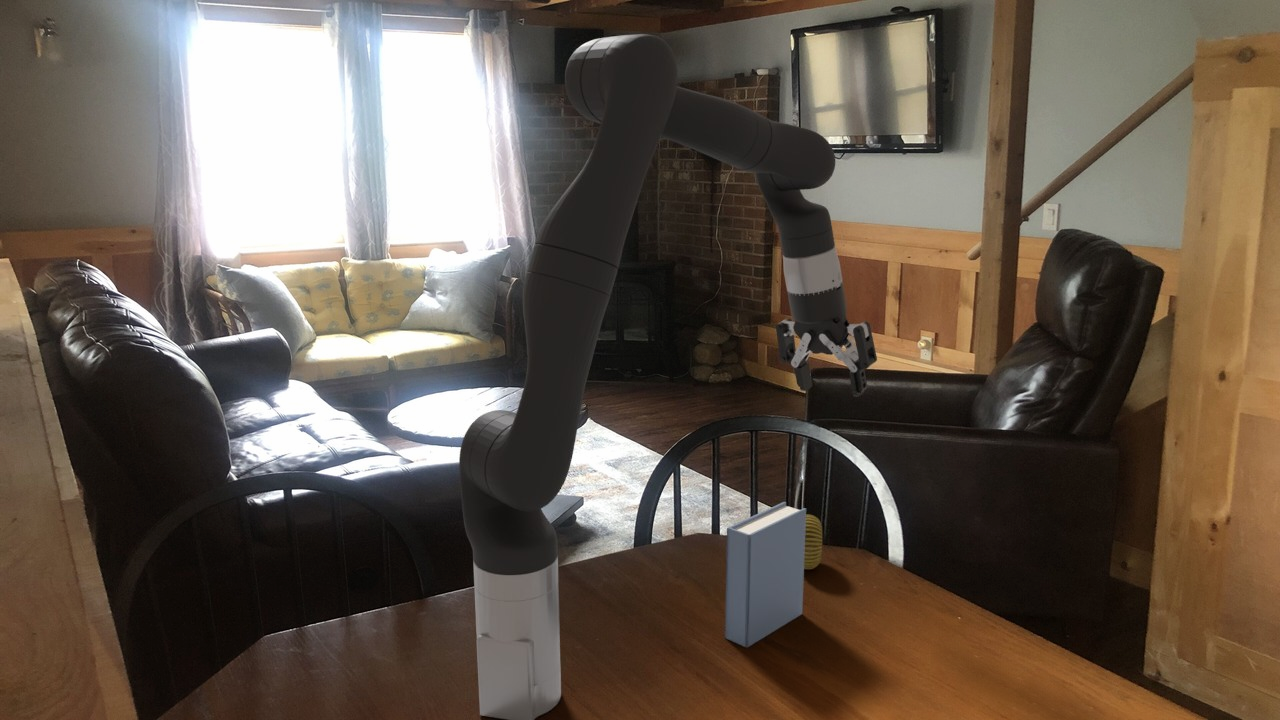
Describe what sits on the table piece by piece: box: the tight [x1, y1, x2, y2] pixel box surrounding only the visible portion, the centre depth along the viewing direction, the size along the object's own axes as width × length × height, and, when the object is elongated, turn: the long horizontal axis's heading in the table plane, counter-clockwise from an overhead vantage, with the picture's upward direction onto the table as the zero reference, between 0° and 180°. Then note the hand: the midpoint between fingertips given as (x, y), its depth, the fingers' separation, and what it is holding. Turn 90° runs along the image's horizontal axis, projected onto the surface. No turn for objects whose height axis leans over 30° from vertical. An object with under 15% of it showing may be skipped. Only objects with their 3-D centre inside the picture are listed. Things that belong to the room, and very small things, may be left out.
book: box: [724, 501, 807, 648], centre depth 123 cm, size 4×12×15 cm, turn 136°
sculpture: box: [804, 513, 823, 570], centre depth 141 cm, size 8×4×8 cm, turn 171°
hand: (832, 391), depth 135 cm, fingers open, 8 cm apart
